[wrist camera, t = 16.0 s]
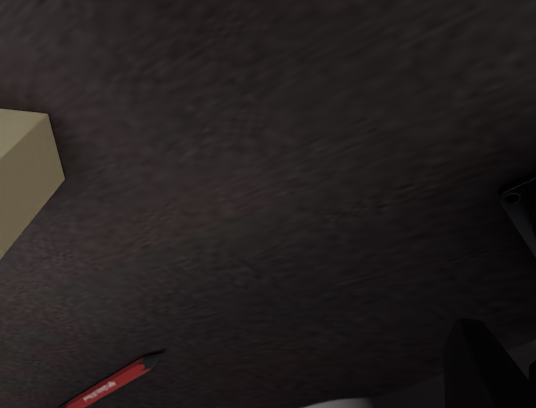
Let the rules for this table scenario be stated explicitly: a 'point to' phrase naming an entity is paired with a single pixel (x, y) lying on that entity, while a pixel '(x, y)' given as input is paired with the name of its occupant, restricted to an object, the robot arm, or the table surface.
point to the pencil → (114, 382)
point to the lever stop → (25, 171)
